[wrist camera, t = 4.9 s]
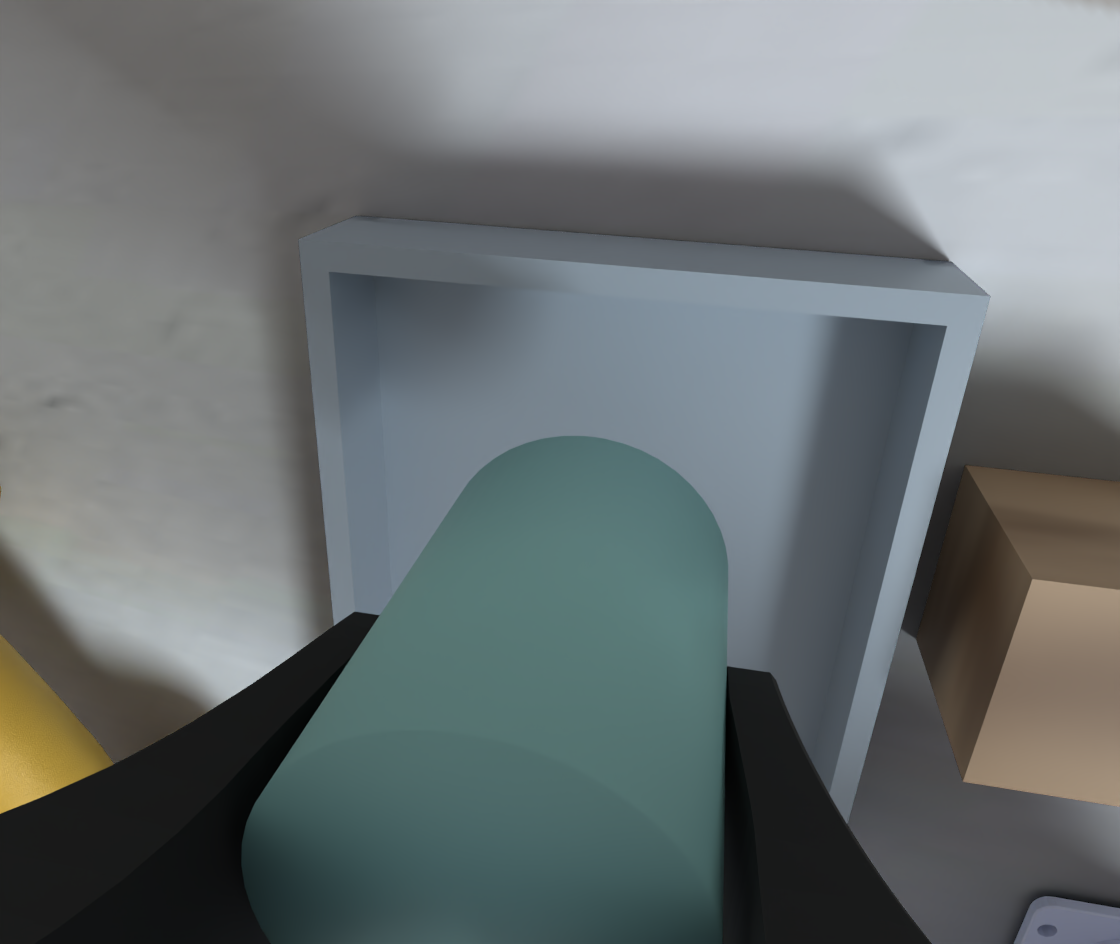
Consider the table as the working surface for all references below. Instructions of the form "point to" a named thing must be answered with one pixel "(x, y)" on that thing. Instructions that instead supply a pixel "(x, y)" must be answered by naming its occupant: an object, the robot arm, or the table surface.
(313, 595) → the table surface
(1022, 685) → the cube
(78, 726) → the dumbbell
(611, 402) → the tote
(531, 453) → the teal cylinder
